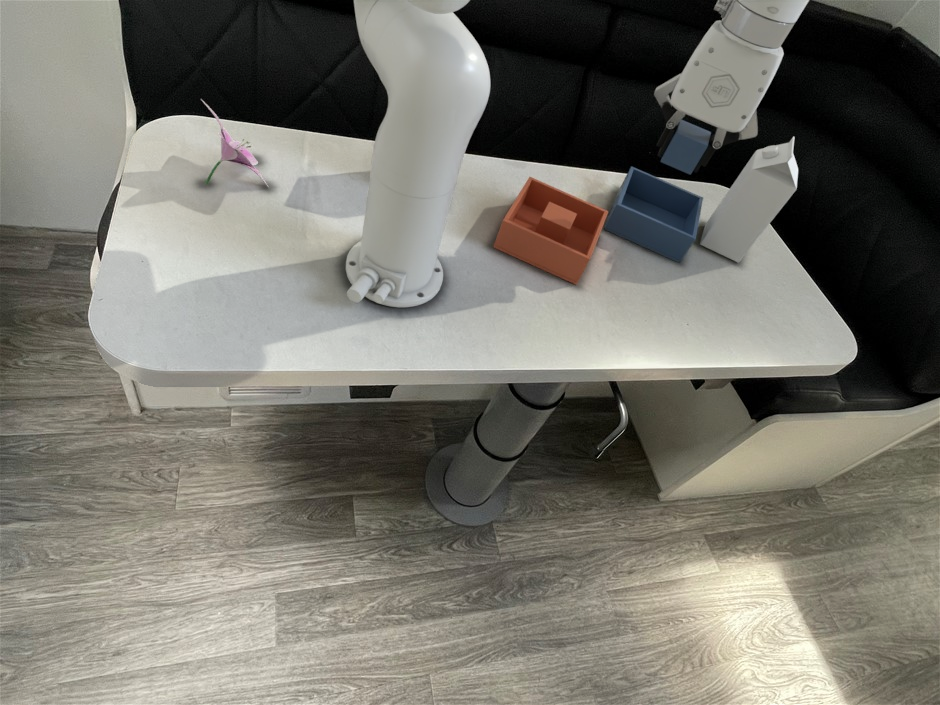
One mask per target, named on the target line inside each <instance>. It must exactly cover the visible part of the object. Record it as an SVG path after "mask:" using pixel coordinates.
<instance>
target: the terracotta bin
mask: <svg viewBox="0 0 940 705" xmlns="http://www.w3.org/2000/svg"><path fill="white" fill-rule="evenodd" d="M549 202H552V203H554V204H556V205H558V206H561V207H563V208H565V209H567V210H570V211H572V212H574V213H576V214H577V215H576V217H575V220H574V222H573V224H572V226H571V228H570V231H569V233H568V235H567V237H566V239H565V241H564V243H563V244H560V243H558V242H556V241H554V240H551V239H549V238H547V237H545V236H543V235H540V234H538V233H536V232H535V231H536V228H537V226H538V223H539V221H540V219H541V216H542V214H543V213H544V211H545V209H546V207H547V205H548V203H549ZM608 214H609V211H608V210H607V209H604V208H602V207H600V206H598V205H595V204H594V203H591V202H589V201H586V200H584V199H581V198H579V197H577V196H575V195H573V194H571V193H568V192H567V191H564V190H562V189H560V188H557V187H554V186H552V185H550V184H548V183H546V182H543V181H541V180H538V179H537V178H534V177H532V176H529V177H528V178H527V180H526V182H525V184H523V187H522V188H521V190H520V191H519V193H518V195H517V196H516V198H515V199H514V201H513V202H512V204H511V206H510V207H509V209H508V211H507V213H506V214H505V216H504V218H503V219H502V220H501V221H502V222H501V224H500V227H499V230H498V232H497V236H496V238H495V241H494V244H493V249H496V250H498V251H500V252H503V253H505V254H506V255H509V256H510V257H511V256H512V257H514V258H516V259H518V260H519V261H522V262H524V263H527V264H529V265H532V266H534V267H535V268H538V269H540V270H542V271H544V272H547V273H549V274H551V275H553V276H555V277H558V278H560V279H562V280H565V281H567V282H569V283H571V284H573V285H576V286H577V285H578V283H579V281H580V279H581V278H582V275H583V274H584V272H585V270H586V268H587V266H588V264H589V262H590V261H591V258H592V255H593V253H594V250H595V249H596V245H597V243H598V240H599V237H600V235H601V232H602V230H603V227H604V226H605V225H604V224H605V223H606V221H607V218H608Z"/></svg>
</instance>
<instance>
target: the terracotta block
mask: <svg viewBox="0 0 940 705" xmlns="http://www.w3.org/2000/svg"><path fill="white" fill-rule="evenodd" d="M576 215H577V214H576V213H574V212H572V211H570V210H567V209H565V208H563V207H561V206H558V205H556V204H554V203H552V202H549V203H548V205H547V207H546V209H545V211H544V213H543V214H542V216H541V219H540V221H539V223H538V226H537V228H536V231H535V232H536V233H538V234H540V235H543V236H545V237H547V238H549V239H551V240H554V241H556V242H558V243H560V244H563V243H564V241H565V239H566V237H567V235H568V233H569V231H570V228H571V226H572V224H573V222H574V220H575V217H576Z"/></svg>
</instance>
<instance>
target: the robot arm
mask: <svg viewBox="0 0 940 705" xmlns="http://www.w3.org/2000/svg"><path fill="white" fill-rule="evenodd" d="M470 1H471V0H353V7H354V14H355V21H356V28H357V32H358V37H359V42H360V43H361V46H362V49H363V51H364V53H365V55H366V57H367V58H368V61H369V62H370V64H371V65H372V67H373V68H374V70H375V71H376V73H377V75H378V77H379V80H380V81H381V83H382V84H383V86H384V88H385V90H386V93H387V108H386V112H385V114H384V117H383V119H382V121H381V123H380V125H379V127H378V130H377V133H376V136H375V139H374V144H373V150H372V155H371V156H372V157H371V164H370V166H371V167H370V173H369V180H368V181H369V183H368V189H367V195H366V196H367V197H366V205H365V210H364V211H365V212H364V219H363V226H362V232H361V233H362V234H361V240H359V241H358V242H356V243H355V244H354V245H353V246H352V247H351V249H350V250H349V252H348V253H347V255H346V261H345V272H346V277H347V279H348V282H350V284H351V286H350V287H349V288H348V290H347V291H346V296H347V298H348V299H349V300H350V301H351V302H353V303H355V304H356V303H360V302H362V301H363V299H364V298H366V299H368V300H370V301H372V302H374V303H376V304H379V305H383V306H386V307H391V308H413V307H417V306H420V305H423V304H425V303H428V302H429V301H431V300H432V299H433V298H434V297H435V296H436V295H438V293H439V291H440V290H441V287H442V284H443V281H444V269H443V266H442V263H441V261H440V260H439V258H438V253H439V249H440V246H441V242H442V239H443V235H444V231H445V227H446V223H447V219H448V217H449V216H448V215H449V213H450V208H451V204H452V201H453V197H454V194H455V190H456V186H457V181H458V178H459V174H460V170H461V166H462V162H463V160H464V157H465V154H466V150H467V148H468V145H469V143H470V140H471V138H472V136H473V134H474V131H475V129H476V128H477V126H478V123H479V121H480V120H481V118H482V116H483V114H484V112H485V110H486V107H487V104H488V101H489V97H490V94H491V74H490V68H489V65H488V61H487V59H486V57H485V54H484V52H483V50H482V48H481V46H480V44H479V43H478V41H477V40H476V39H475V37H474V36H473V34H472V33H471V32H470V31H469V29H468V28H467V27H466V26H465V25H464V23H463V22H462V21H461V20H460V18H459V17H458V16H457V15H456V14H455V13H454V12H457V11H459V10H461V9H462V8H464V7H465V6H467V4H468V3H469V2H470ZM809 2H810V0H717V1H716V4H715V5H714V8H713V11H715V12H718V14H719V15H721V16H720V18H722V19H721V20H715V21H714V23H713V24H711V26H710V28H708V30H707V32H706V33H705V34H704V35H703V37H702V39H701V40H700V41H699V43H698V45H697V46H696V48H695V49H694V51H693V52H692V54H691V55H690V57H689V60H688V61H687V63H686V65H685V66H684V68H683V70H682V72H681V73H679V74H676V75H675V76H673V77H672V78H670V79H668V80H667V81H665V82H664V83H662V84H660V85H658V86H656V88H655V90H654V92H653V96H654V97H655V99H656V101H657V103H658V105H659V106H660V108H661V112H662V115H663V118H664V120H665V123H666V124H665V128H664V130H663V131H662V133H661V135H660V137H659V139H658V141H657V143H656V147H657V148H659V150H658V153H657V157H659V158H662V157H663V155H664V153H665V151H666V149H667V148H668V146H669V144H670V142H671V140H672V138H673V137H674V135H675V133H676V130H677V126H678V123H679V122H680V121H681V120H683V118H685V116H686V115H687V116H689V117H692V118H694V119H696V120H698V121H702V122H704V123H706V124H708V125H711V126H713V127H715V132H714V134H712V135H711V136H710V139H709V143H708V147H707V148H706V150H705V152H704V153H703V155H702V157H701V158H700V160H699V162H698V163H697V165H696V167H695V168H694V170H693V172H692V173H698V172H699V171H700V168H701V167H704V168H705V167H706V166H707V165H708V164H709V162H710V160H711V158H712V157H713V156H714V154H715V152H716V151H717V150H719V149H721V148H722V147H723V146H727V145H729V144H732V143H735V142H738V141H740V140H741V141H742V140H748V139H753V138H756V137H757V136H758V132H759V125H758V111H757V108H758V107H759V105H760V103H761V101H762V100H763V98H764V97H765V94H766V93H767V91H768V89H769V87H770V85H771V84H772V81H773V79H774V77H775V76H776V73H777V71H778V69H779V68H780V65H781V63H782V60H783V57H784V55H785V53H784V49H783V47H782V45H783V44H784V42H785V40H786V39H787V37H788V35H789V34H790V32H791V30H792V29H793V27H794V25H795V24H796V22H797V21H798V19H799V18H800V16H801V14H802V12H803V11H804V10H805V8H806V6H807V5H808V3H809ZM669 94H671V96H670V95H669Z"/></svg>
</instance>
